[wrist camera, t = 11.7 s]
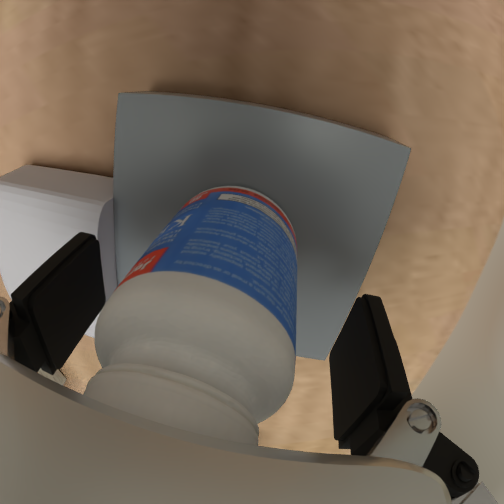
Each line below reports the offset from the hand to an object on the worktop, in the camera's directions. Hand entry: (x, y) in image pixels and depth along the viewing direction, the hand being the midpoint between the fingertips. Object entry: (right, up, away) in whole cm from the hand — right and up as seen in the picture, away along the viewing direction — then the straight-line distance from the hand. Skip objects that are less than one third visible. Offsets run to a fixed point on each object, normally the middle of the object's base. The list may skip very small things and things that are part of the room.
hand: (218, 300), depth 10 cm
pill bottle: (0, +2, +3) cm, 4 cm away
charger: (-13, +4, +8) cm, 16 cm away
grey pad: (+1, +3, +6) cm, 7 cm away
